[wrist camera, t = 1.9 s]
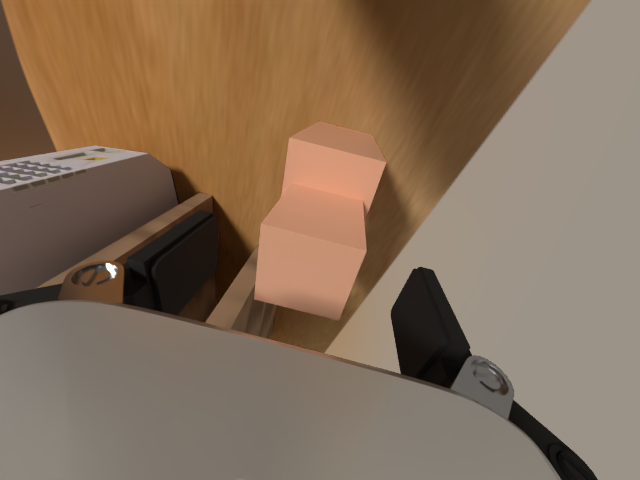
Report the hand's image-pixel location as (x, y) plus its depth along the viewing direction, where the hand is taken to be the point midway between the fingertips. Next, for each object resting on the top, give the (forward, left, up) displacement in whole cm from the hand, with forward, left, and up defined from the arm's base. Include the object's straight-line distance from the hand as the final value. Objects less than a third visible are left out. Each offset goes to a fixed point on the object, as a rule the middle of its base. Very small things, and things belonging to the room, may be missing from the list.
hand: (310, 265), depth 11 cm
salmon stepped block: (0, 0, -15) cm, 15 cm away
